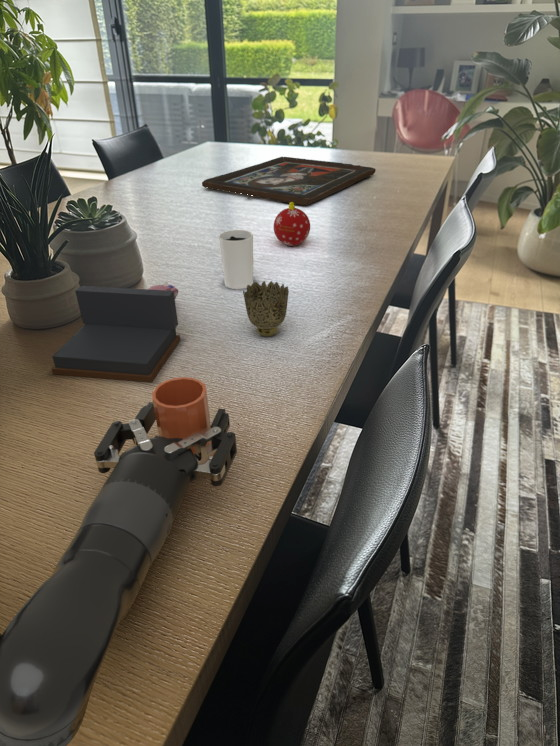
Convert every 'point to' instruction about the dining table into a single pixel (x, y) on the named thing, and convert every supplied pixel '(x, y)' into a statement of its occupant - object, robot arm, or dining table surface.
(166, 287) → the video game controller
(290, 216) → the christmas ornament
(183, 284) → the dining table surface
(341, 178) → the religious icon
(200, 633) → the dining table surface
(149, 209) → the dining table surface
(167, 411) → the cup
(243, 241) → the white cylindrical container
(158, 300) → the sofa
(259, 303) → the cup
